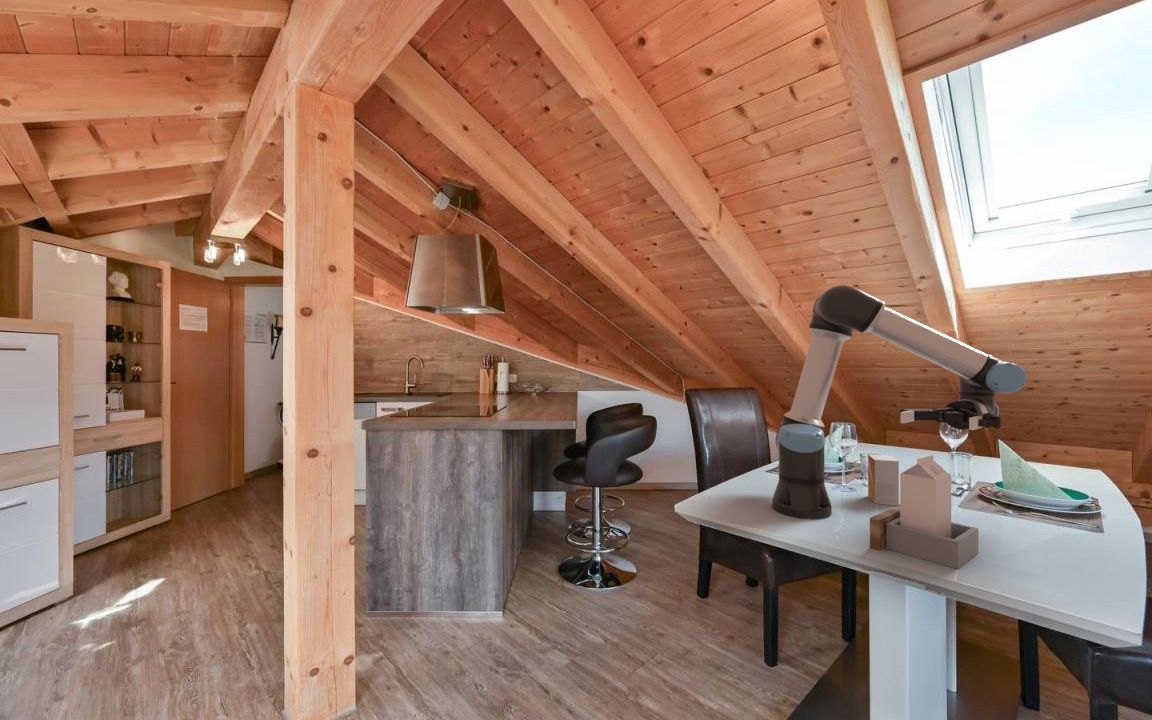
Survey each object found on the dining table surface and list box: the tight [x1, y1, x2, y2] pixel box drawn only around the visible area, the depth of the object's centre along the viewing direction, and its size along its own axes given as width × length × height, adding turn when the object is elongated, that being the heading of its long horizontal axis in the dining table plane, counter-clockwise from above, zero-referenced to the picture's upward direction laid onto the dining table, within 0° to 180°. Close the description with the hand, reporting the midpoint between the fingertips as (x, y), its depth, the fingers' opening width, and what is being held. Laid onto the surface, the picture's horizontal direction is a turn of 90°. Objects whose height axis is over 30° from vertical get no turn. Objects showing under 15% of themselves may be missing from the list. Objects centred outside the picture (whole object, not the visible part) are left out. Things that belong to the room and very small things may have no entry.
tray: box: [885, 517, 979, 570], centre depth 105 cm, size 13×13×6 cm
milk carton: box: [899, 455, 952, 539], centre depth 106 cm, size 7×7×19 cm
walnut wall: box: [869, 504, 900, 552], centre depth 111 cm, size 18×2×7 cm, turn 126°
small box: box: [867, 454, 900, 506], centre depth 142 cm, size 8×6×13 cm
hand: (935, 420), depth 112 cm, fingers open, 13 cm apart
